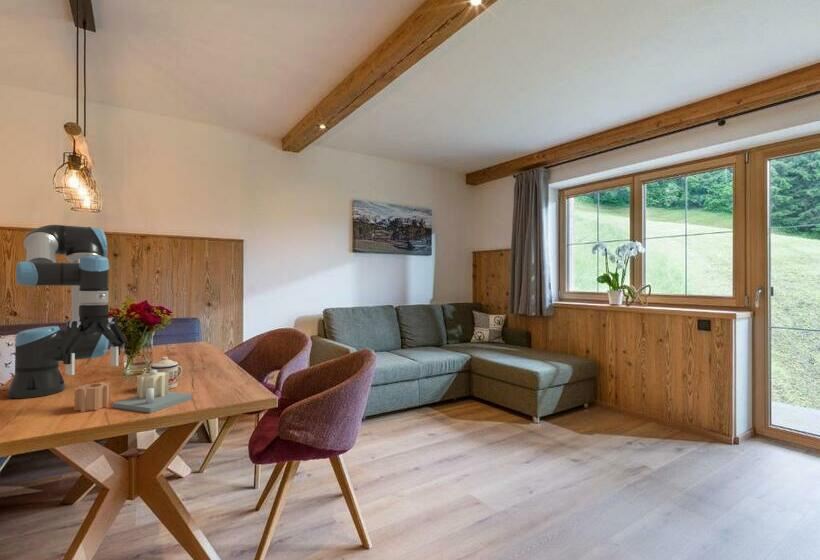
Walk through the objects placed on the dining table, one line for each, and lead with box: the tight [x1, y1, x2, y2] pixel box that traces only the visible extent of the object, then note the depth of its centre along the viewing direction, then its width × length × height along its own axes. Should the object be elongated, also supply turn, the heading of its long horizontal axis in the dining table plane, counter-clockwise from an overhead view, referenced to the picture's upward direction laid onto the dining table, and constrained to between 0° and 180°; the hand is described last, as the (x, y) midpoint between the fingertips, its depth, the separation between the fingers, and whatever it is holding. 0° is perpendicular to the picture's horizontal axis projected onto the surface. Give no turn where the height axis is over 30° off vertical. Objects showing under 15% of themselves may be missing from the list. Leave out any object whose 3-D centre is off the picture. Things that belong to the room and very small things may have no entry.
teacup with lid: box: [150, 356, 183, 390], centre depth 155 cm, size 12×9×12 cm
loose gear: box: [73, 381, 111, 413], centre depth 130 cm, size 9×9×7 cm
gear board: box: [112, 369, 193, 414], centre depth 135 cm, size 16×16×10 cm
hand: (93, 370), depth 130 cm, fingers open, 13 cm apart
